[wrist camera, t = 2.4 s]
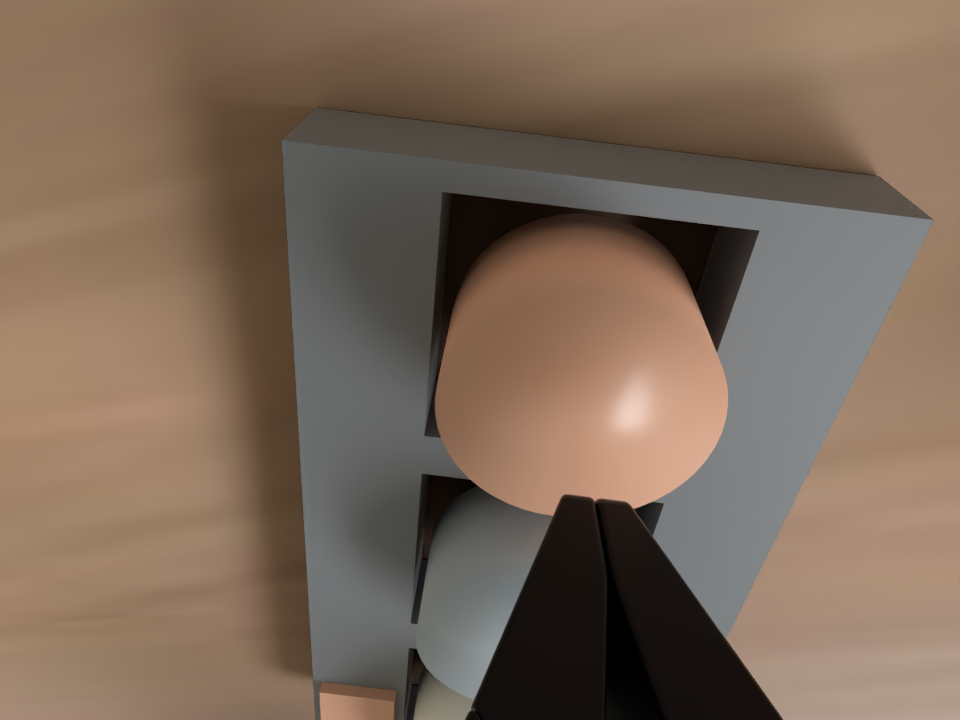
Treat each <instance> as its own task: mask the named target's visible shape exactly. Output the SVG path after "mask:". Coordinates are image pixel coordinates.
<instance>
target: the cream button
mask: <svg viewBox="0 0 960 720" xmlns="http://www.w3.org/2000/svg"><path fill="white" fill-rule="evenodd" d="M473 701H474V700H473V699H470V698H468V697H466V696H463V695H461V694H459V693H457V692H455V691H453V690H452V689H450V688H449V687H447V686H446V685H444V684H443V683H441V682H440V681H439V680H438V679H437V678H435V677H434V676H433V675H432V674H431V673H430V671H429V670H428V669H427V668H425V669H424V670H423V672H422V674H421V676H420V680H419V685H418V692H417V698H416V705H415V712H414V718H413V720H465V718H466V716H467V714H468V712H469V711H471V706H472V703H473Z"/></svg>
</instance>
